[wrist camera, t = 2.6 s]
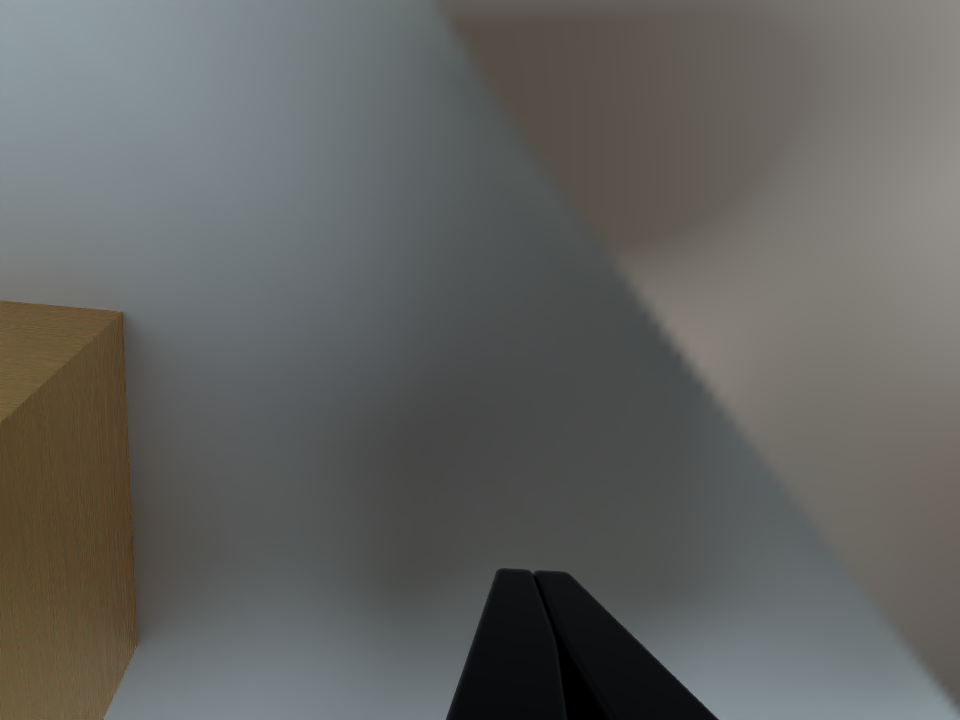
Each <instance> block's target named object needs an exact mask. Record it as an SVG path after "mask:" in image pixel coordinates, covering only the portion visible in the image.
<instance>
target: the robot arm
mask: <svg viewBox="0 0 960 720" xmlns="http://www.w3.org/2000/svg"><path fill="white" fill-rule="evenodd" d="M446 720H718V719H717V718H716V717H715V716H714V715H713V714H712V713H711V712H710V711H709V710H708V709H707V708H706V707H705V706H704V705H703V704H702V703H701V702H700V701H699V700H698V699H697V698H696V697H695V696H694V695H693V694H692V693H691V692H690V691H689V690H688V689H687V688H686V687H685V686H684V685H683V684H682V683H681V682H680V681H679V680H678V679H676V678H675V677H674V676H673V675H672V674H671V673H670V672H669V671H668V670H667V669H666V668H665V667H664V666H663V665H662V664H661V663H660V662H659V661H658V660H657V659H656V658H655V657H654V656H653V655H652V654H651V653H650V652H649V651H648V650H647V649H646V648H645V647H644V646H643V645H642V644H641V643H640V642H639V641H638V640H637V639H636V638H635V637H633V636H632V635H631V634H630V633H629V632H628V631H627V630H626V629H625V628H624V627H623V626H622V625H621V624H620V623H619V622H618V621H617V620H616V619H615V618H614V617H613V616H612V615H611V614H610V613H609V612H608V611H607V610H606V609H605V608H604V607H603V606H602V605H601V604H600V603H599V602H598V601H597V600H596V599H595V598H594V597H593V596H591V595H590V594H589V593H588V592H587V591H586V590H585V589H584V588H583V587H582V586H581V585H580V584H579V583H578V582H577V581H576V580H575V579H574V578H573V577H572V576H571V575H570V574H568V573H566V572H561V571H542V570H538V571H535V572H534V573H533V574H532V572H530V571H529V570H524V569H507V568H501V569H499V570H498V571H497V572H496V574H495V577H494V580H493V583H492V586H491V589H490V592H489V595H488V598H487V601H486V604H485V606H484V609H483V612H482V615H481V618H480V621H479V624H478V627H477V630H476V633H475V636H474V639H473V642H472V644H471V647H470V650H469V653H468V656H467V659H466V662H465V665H464V668H463V671H462V674H461V677H460V680H459V682H458V685H457V688H456V691H455V694H454V697H453V700H452V703H451V706H450V709H449V712H448V715H447V718H446Z"/></svg>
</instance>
